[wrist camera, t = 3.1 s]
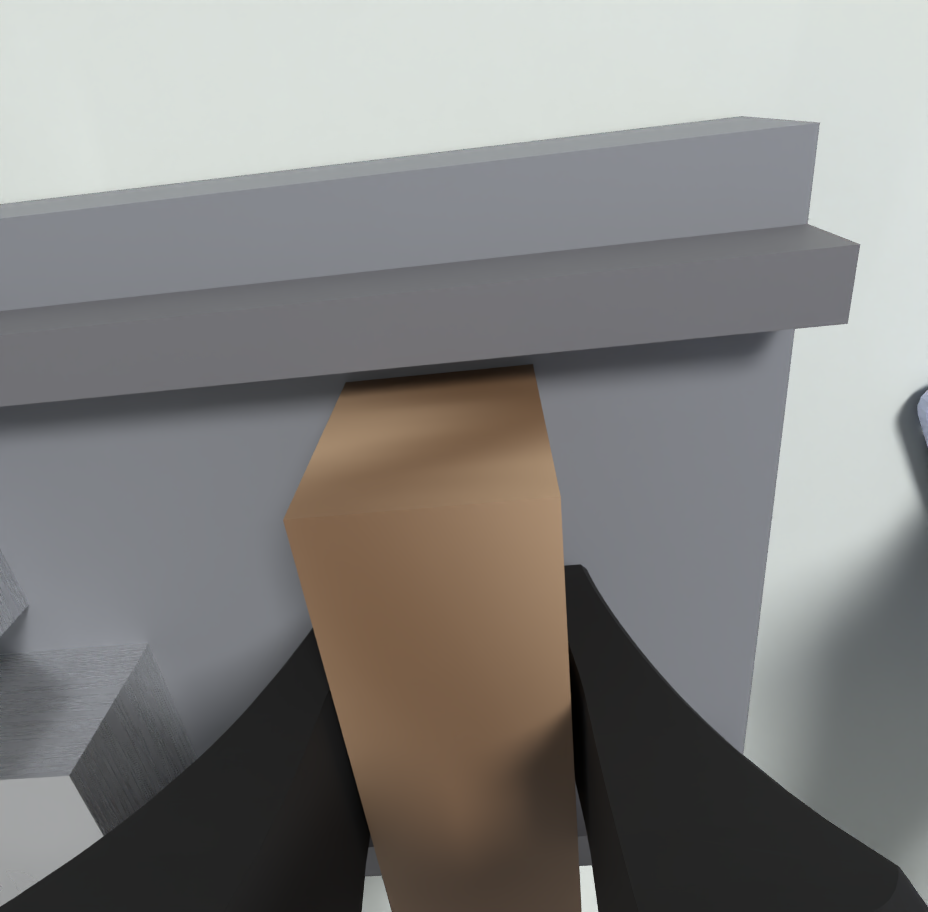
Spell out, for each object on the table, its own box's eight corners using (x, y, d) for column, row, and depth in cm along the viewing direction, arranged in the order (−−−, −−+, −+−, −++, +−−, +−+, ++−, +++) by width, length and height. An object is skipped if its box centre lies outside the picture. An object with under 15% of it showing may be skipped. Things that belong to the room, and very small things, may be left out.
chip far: (148, 643, 14) (68, 775, 11) (205, 775, 15) (148, 916, 13) (-41, 656, 14) (-164, 789, 11) (37, 785, 16) (-52, 925, 13)
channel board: (741, 116, 12) (878, 126, 8) (697, 723, 19) (757, 893, 15) (-325, 243, 13) (-678, 308, 9) (5, 765, 20) (-112, 932, 16)
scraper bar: (532, 364, 11) (560, 496, 7) (558, 751, 15) (583, 955, 11) (345, 382, 11) (283, 519, 7) (422, 759, 15) (406, 962, 12)
